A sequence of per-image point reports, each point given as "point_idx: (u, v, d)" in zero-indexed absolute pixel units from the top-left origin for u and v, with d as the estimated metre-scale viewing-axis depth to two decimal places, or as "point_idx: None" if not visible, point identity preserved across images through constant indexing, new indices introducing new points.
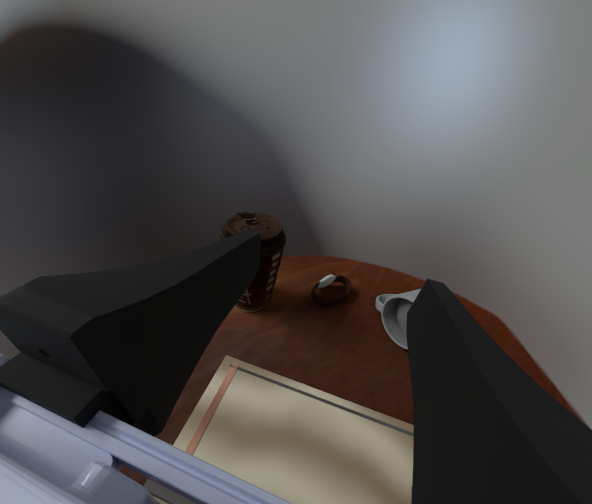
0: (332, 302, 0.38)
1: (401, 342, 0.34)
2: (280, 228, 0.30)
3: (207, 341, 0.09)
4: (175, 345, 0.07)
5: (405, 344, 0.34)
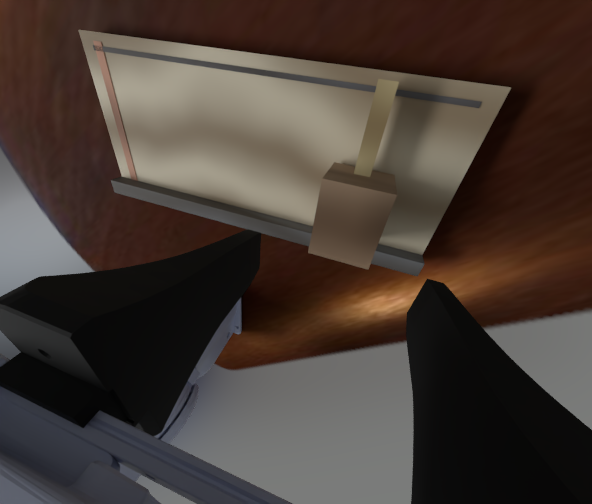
0: None
1: None
2: None
3: (207, 341, 0.09)
4: (175, 345, 0.07)
5: None
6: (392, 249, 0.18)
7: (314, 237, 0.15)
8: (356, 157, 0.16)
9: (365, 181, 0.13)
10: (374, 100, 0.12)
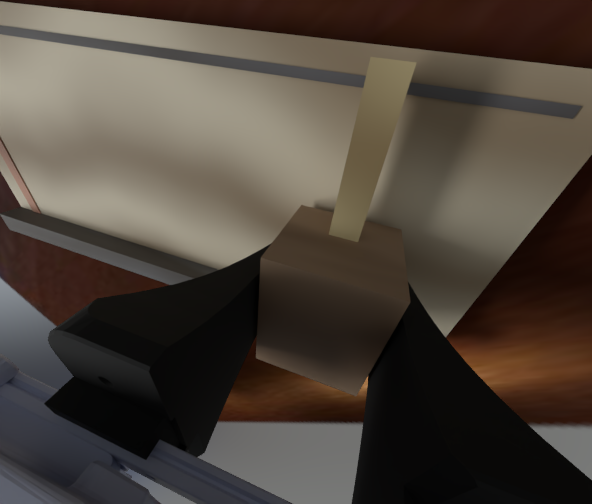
0: None
1: None
2: None
3: (244, 355, 0.08)
4: (222, 364, 0.07)
5: None
6: None
7: (262, 341, 0.09)
8: None
9: (347, 259, 0.07)
10: (362, 103, 0.06)
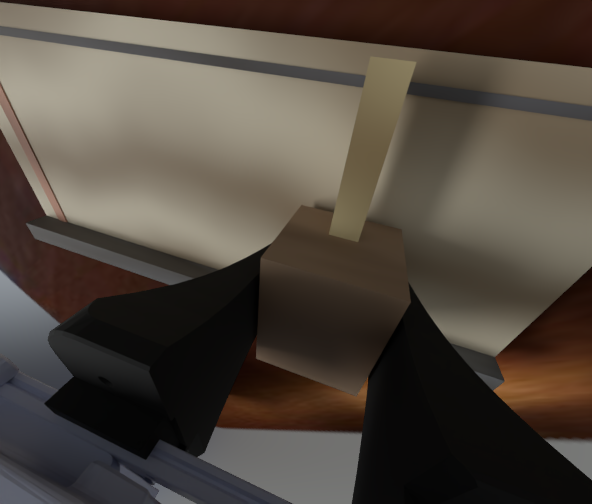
0: None
1: None
2: None
3: (244, 355, 0.08)
4: (222, 364, 0.07)
5: None
6: None
7: (262, 341, 0.09)
8: (396, 212, 0.09)
9: (347, 259, 0.07)
10: (362, 103, 0.06)
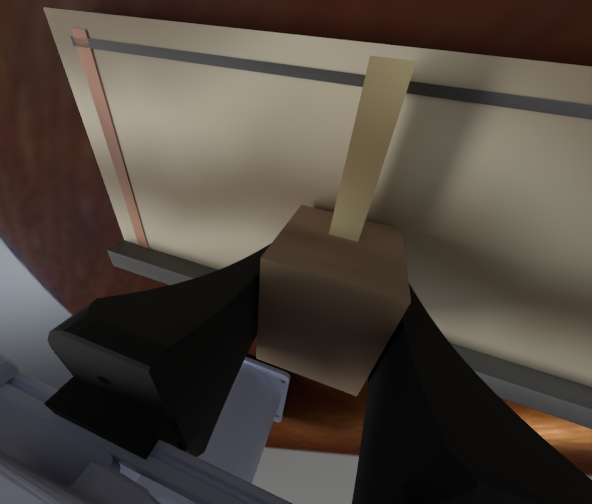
0: None
1: None
2: None
3: (244, 355, 0.08)
4: (222, 364, 0.07)
5: None
6: None
7: (262, 341, 0.09)
8: None
9: (348, 258, 0.07)
10: (362, 102, 0.06)
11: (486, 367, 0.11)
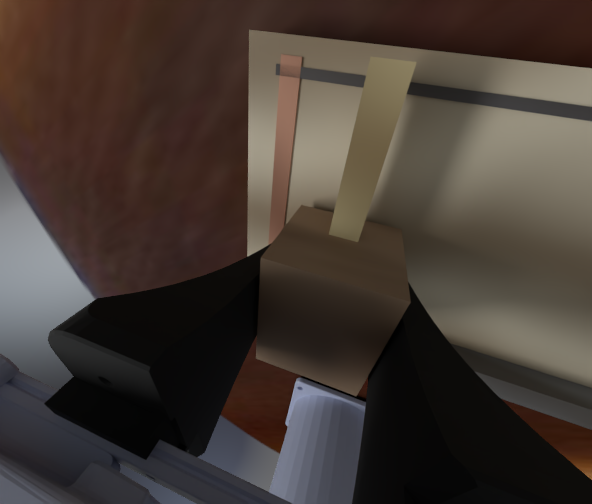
0: None
1: None
2: None
3: (244, 355, 0.08)
4: (222, 364, 0.07)
5: None
6: None
7: (262, 341, 0.09)
8: None
9: (347, 259, 0.07)
10: (363, 103, 0.06)
11: None
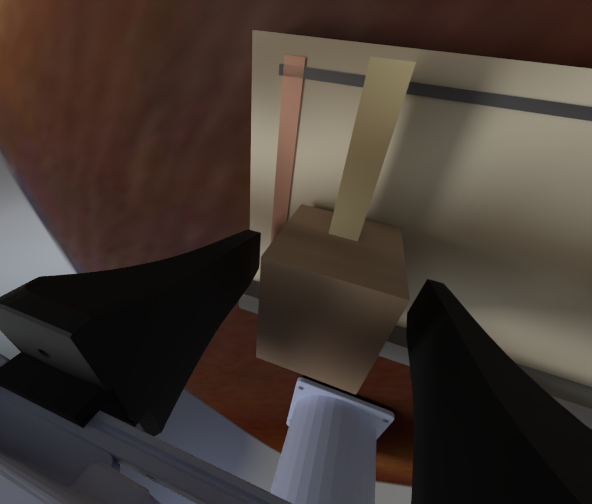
0: None
1: None
2: None
3: (207, 341, 0.09)
4: (175, 345, 0.07)
5: None
6: None
7: (262, 339, 0.09)
8: None
9: (347, 258, 0.07)
10: (362, 103, 0.06)
11: None
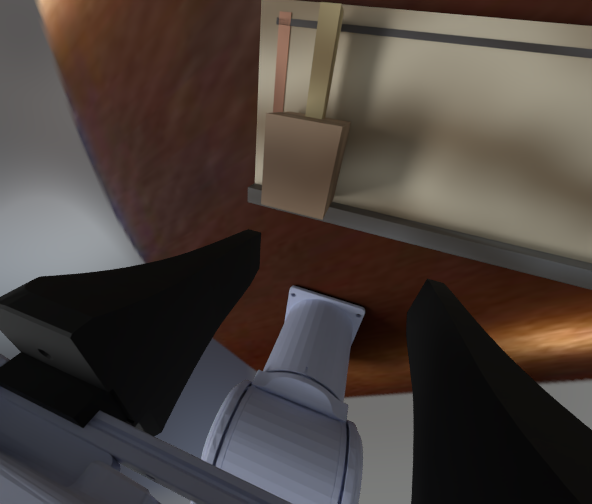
0: None
1: None
2: None
3: (207, 341, 0.09)
4: (175, 345, 0.07)
5: None
6: None
7: (265, 185, 0.14)
8: None
9: (314, 119, 0.13)
10: (318, 28, 0.12)
11: (555, 259, 0.15)
